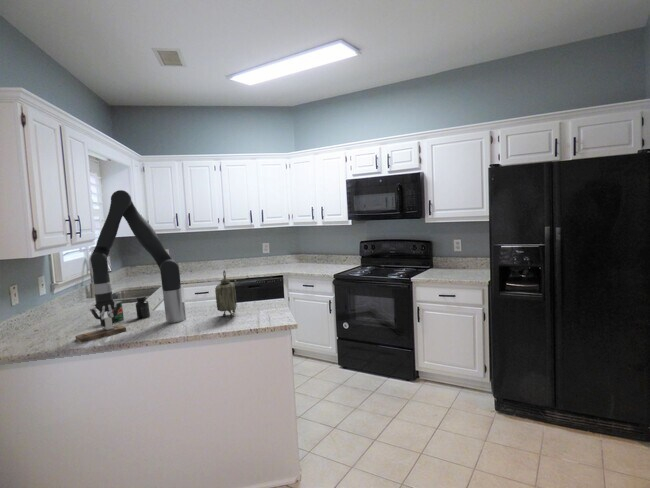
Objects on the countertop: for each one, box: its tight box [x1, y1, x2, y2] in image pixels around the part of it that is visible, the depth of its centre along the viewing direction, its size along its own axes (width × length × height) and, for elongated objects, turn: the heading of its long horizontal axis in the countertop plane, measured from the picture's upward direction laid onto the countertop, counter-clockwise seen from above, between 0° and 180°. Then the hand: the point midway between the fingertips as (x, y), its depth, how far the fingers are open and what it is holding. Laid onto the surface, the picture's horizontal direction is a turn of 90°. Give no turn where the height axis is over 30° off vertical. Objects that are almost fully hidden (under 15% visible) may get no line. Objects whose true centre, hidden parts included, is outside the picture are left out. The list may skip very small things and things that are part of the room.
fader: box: [102, 316, 114, 331], centre depth 193 cm, size 3×7×6 cm, turn 48°
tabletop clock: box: [214, 269, 238, 319], centre depth 209 cm, size 14×9×25 cm, turn 9°
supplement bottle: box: [135, 295, 151, 320], centre depth 221 cm, size 7×7×12 cm
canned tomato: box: [106, 300, 125, 324], centre depth 217 cm, size 8×8×11 cm
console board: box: [74, 324, 127, 344], centre depth 191 cm, size 20×9×2 cm, turn 138°
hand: (107, 325), depth 193 cm, fingers closed on fader, 3 cm apart
